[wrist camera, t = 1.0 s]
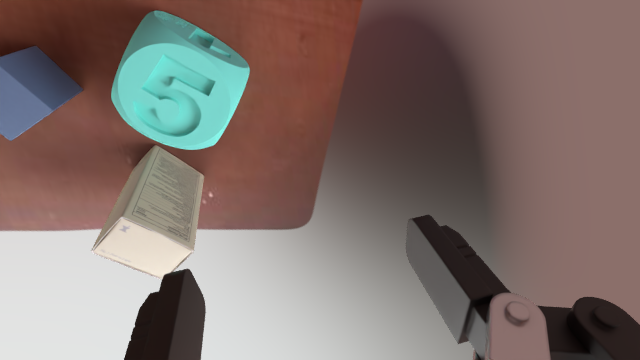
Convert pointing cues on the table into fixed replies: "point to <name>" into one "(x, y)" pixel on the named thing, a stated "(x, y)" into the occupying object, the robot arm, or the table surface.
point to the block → (31, 90)
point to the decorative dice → (178, 82)
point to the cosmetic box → (154, 216)
